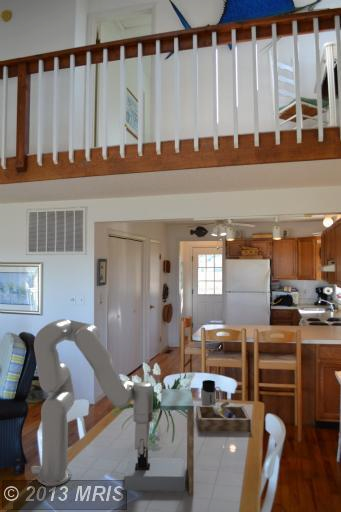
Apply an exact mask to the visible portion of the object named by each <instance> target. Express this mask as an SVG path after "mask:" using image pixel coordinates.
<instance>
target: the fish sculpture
mask: <svg viewBox="0 0 341 512" xmlns="http://www.w3.org/2000/svg"><path fill="white" fill-rule="evenodd" d="M220 406H221V407H220ZM224 406H230V402H228V401H225V402H223V403H222V404H220V405H216V404H215V405H211V407H212V408H213V409H214V413H215V414H217V415H216V416H215V418H236V417H235V416H234V415H233V413H232V412H230V411H229V410H227V409H226V408H224Z"/></svg>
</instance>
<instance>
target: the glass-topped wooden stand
mask: <svg viewBox="0 0 341 512" xmlns="http://www.w3.org/2000/svg"><path fill="white" fill-rule="evenodd" d="M160 394H161V395H160V411H186V415H187V416H186V470H187V471H186V473H187V474H186V475H187V482H188V483H187V485H188V486H187V487H188V495H189V496H194V489H195V487H194V484H195V482H194V481H195V479H194V473H195V472H194V465H195V464H194V459H195V458H194V453H195V451H194V448H195V445H194V441H195V437H194V436H195V434H194V433H195V431H194V429H195V427H194V425H195V409H194V408H195V405H194V399H193V398H194V397H193V393H192V389H191V388H189V389H188V388H162V389H161V393H160Z"/></svg>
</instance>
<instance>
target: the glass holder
mask: <svg viewBox="0 0 341 512" xmlns="http://www.w3.org/2000/svg"><path fill="white" fill-rule="evenodd" d="M201 384H202V386H201V387H202V388H201V406H211V405H215V406H216V404H217V403H218V402H220V399H221V395H222V389H221V388H220V386H216V381H214V380H211V379H205V380H204V379H203V380H202V383H201ZM217 389H218V390H219V396H218V398H217V400H216V392H217Z"/></svg>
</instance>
